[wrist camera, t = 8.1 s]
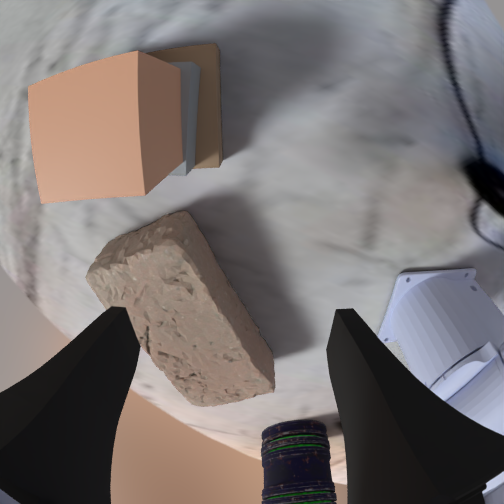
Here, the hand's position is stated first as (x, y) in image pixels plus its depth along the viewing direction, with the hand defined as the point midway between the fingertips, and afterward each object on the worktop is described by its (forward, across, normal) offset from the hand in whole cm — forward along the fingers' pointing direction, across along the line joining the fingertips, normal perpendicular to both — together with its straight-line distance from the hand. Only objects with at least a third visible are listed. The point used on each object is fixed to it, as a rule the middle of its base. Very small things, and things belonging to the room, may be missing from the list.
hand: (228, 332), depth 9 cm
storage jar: (+11, -6, +34) cm, 36 cm away
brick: (+11, +4, +8) cm, 14 cm away
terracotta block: (+6, +5, -7) cm, 10 cm away
